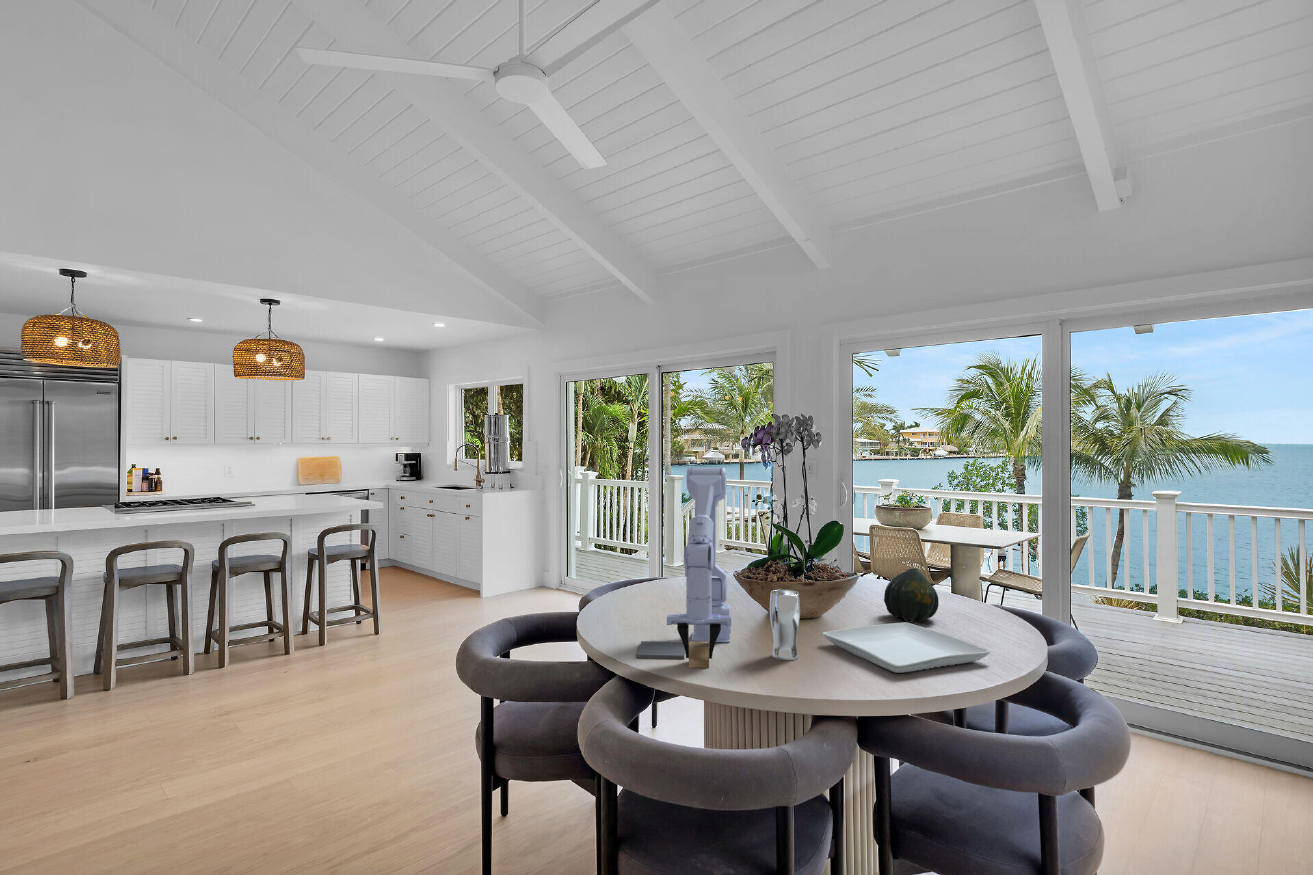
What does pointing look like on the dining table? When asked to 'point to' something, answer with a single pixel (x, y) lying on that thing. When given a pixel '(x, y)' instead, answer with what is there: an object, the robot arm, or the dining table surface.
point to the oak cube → (698, 654)
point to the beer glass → (784, 623)
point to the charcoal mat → (661, 650)
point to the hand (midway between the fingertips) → (699, 656)
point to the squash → (911, 596)
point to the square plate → (905, 646)
